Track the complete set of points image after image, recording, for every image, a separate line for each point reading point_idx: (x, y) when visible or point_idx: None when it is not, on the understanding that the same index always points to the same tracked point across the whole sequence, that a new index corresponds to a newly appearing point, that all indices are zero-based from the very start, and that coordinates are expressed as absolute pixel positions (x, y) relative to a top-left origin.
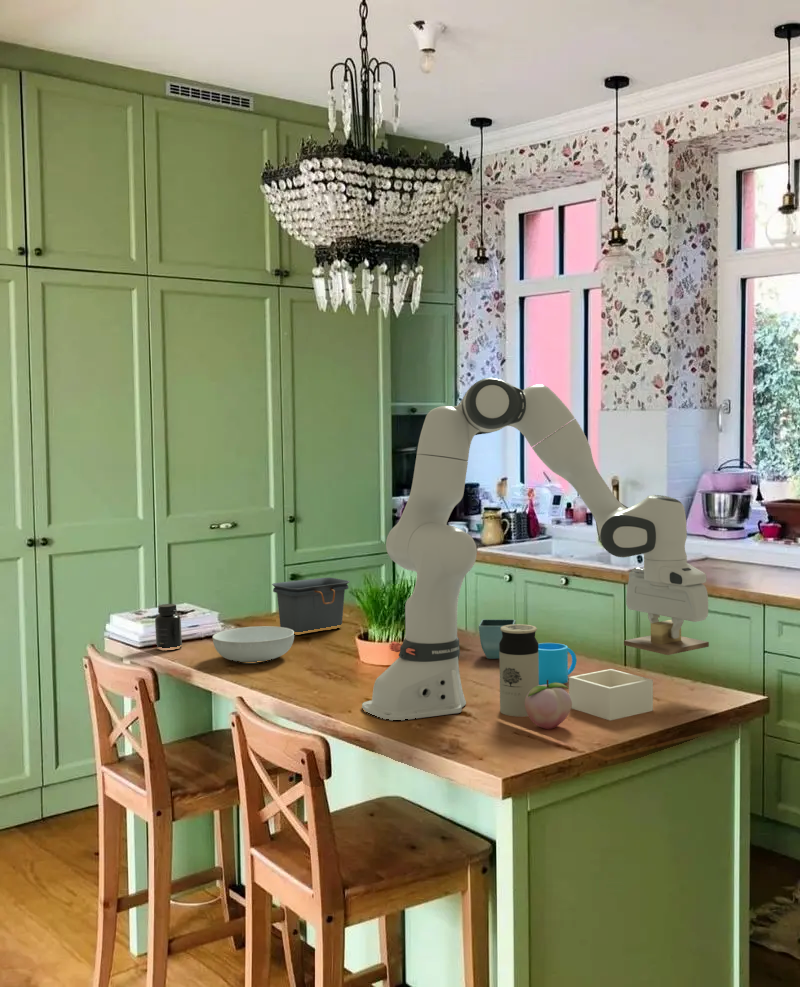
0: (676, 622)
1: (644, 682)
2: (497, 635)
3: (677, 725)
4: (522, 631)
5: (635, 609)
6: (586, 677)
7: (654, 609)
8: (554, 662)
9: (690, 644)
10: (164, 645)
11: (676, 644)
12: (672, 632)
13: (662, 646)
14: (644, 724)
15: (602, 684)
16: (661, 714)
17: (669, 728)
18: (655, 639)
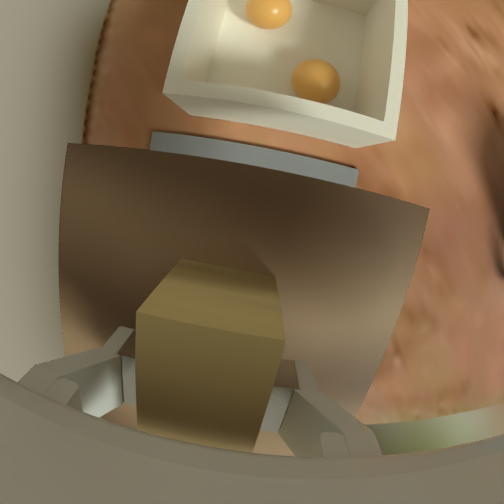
0: (33, 371)
1: (174, 53)
2: None
3: (93, 80)
4: None
5: (501, 438)
6: (391, 18)
7: (277, 495)
8: None
9: (78, 346)
10: None
11: (119, 309)
12: (114, 344)
13: (141, 210)
14: (155, 28)
15: (372, 90)
16: (168, 125)
17: (97, 50)
18: (231, 277)
